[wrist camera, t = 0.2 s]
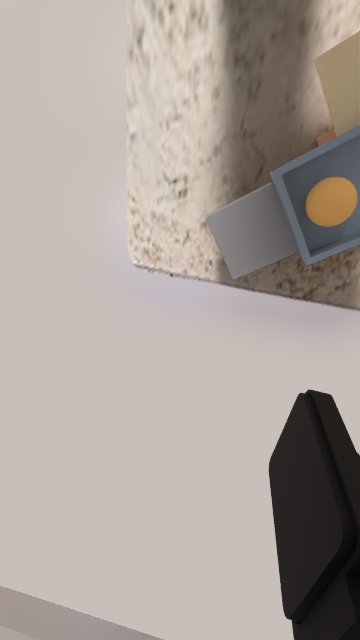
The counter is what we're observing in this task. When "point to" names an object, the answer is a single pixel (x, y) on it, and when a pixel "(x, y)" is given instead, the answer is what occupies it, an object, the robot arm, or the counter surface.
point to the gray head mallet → (300, 184)
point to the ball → (331, 201)
